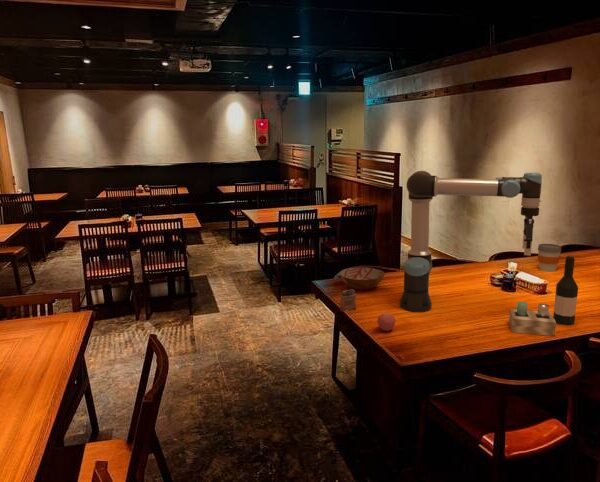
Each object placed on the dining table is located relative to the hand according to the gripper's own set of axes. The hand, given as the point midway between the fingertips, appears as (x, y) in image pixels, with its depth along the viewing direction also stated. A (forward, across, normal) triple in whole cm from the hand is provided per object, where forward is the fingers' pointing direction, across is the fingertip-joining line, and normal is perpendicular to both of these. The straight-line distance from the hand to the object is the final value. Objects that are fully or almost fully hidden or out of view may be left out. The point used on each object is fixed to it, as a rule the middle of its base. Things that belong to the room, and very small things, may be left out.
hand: (526, 251), depth 217 cm
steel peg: (+22, -26, -6) cm, 35 cm away
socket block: (+27, -27, -2) cm, 38 cm away
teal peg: (+22, -27, +2) cm, 35 cm away
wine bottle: (+28, -14, -16) cm, 35 cm away
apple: (+28, -48, +55) cm, 78 cm away
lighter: (+28, -30, +78) cm, 88 cm away
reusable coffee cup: (+28, +75, -18) cm, 82 cm away
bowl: (+28, +7, +81) cm, 86 cm away
